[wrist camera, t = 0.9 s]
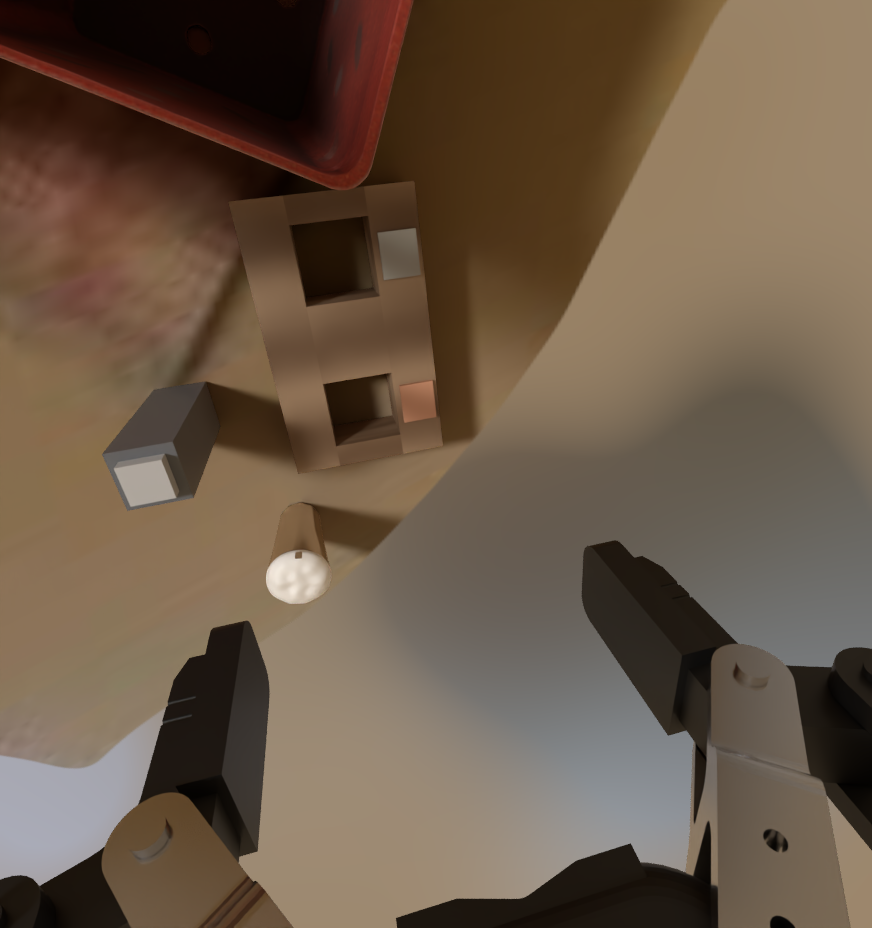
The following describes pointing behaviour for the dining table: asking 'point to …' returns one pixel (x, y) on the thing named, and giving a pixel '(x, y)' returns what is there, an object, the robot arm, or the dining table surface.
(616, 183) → the dining table surface
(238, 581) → the dining table surface
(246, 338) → the dining table surface
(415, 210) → the port deck
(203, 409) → the plug
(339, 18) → the plant pot
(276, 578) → the milkshake
